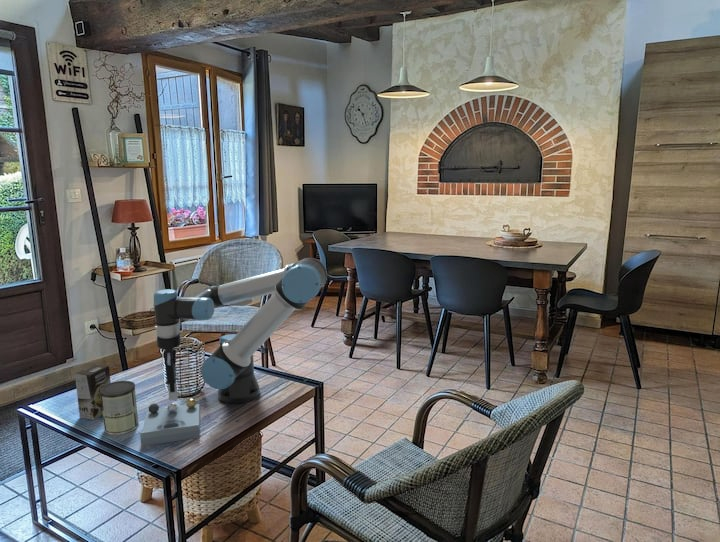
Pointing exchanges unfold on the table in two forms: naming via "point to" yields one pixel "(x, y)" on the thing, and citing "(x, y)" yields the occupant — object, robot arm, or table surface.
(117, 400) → the coffee can
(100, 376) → the coffee box
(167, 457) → the table surface
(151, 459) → the table surface
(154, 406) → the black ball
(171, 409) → the steel ball
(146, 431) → the board
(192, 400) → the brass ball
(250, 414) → the table surface
